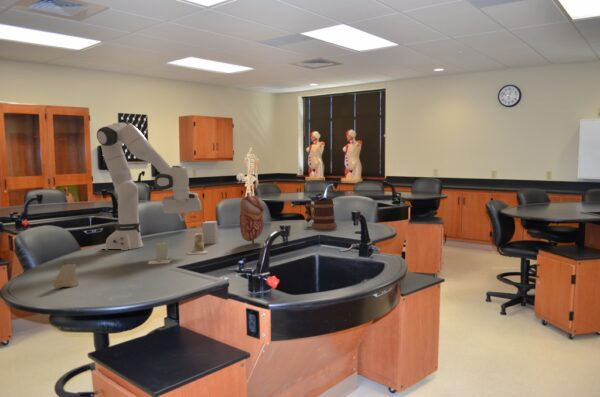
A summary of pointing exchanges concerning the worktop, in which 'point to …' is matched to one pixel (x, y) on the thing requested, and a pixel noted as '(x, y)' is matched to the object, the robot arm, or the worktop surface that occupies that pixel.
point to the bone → (66, 276)
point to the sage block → (162, 251)
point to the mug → (321, 213)
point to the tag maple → (197, 252)
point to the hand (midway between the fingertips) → (183, 220)
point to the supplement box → (210, 232)
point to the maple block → (199, 242)
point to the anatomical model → (251, 217)
